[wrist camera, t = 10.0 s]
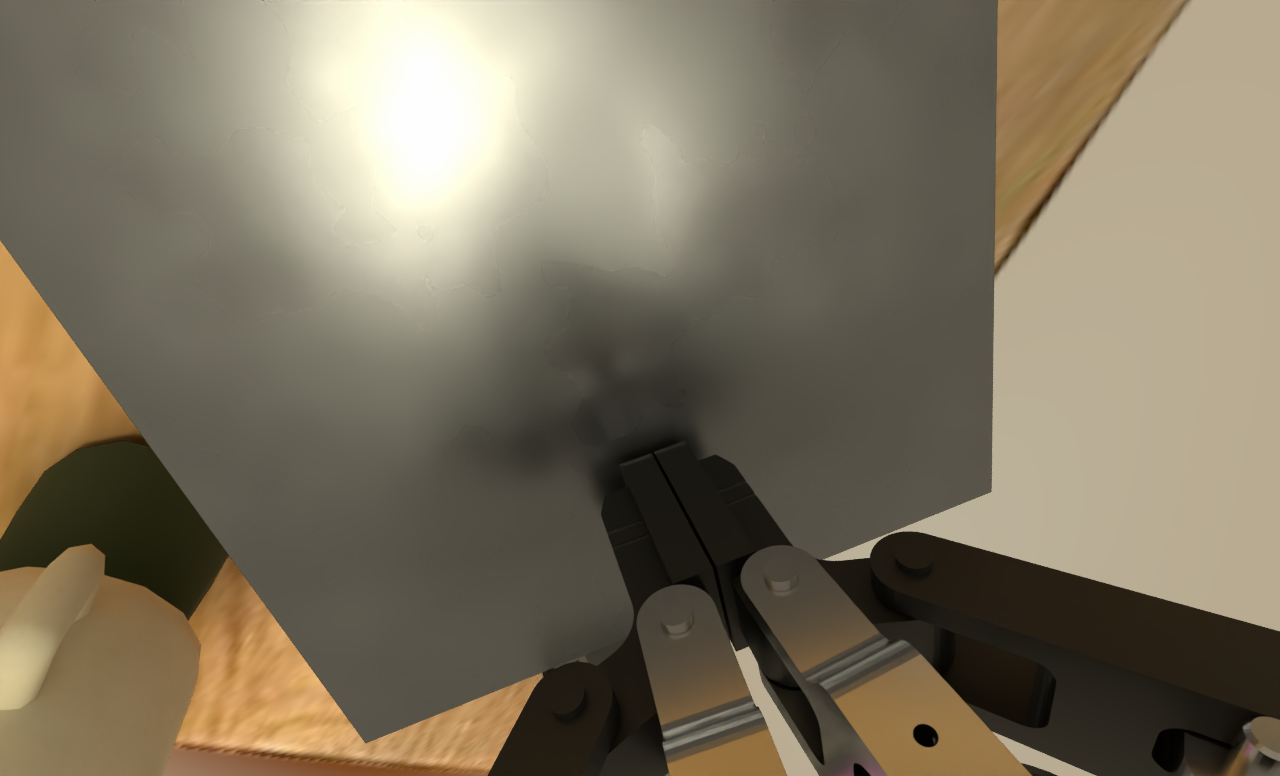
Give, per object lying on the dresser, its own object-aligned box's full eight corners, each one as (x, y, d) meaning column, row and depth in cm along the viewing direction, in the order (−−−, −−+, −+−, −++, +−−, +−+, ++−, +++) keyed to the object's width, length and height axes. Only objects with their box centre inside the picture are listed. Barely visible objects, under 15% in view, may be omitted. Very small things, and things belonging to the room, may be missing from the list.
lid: (-178, -104, 8) (-271, -134, 7) (945, -344, 10) (1002, -395, 9) (392, 730, 16) (387, 773, 15) (960, 501, 18) (991, 526, 17)
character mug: (75, 343, 20) (-355, 695, 9) (307, 420, 24) (194, 749, 13) (-11, 589, 23) (-414, 1079, 12) (207, 627, 26) (44, 1040, 15)
